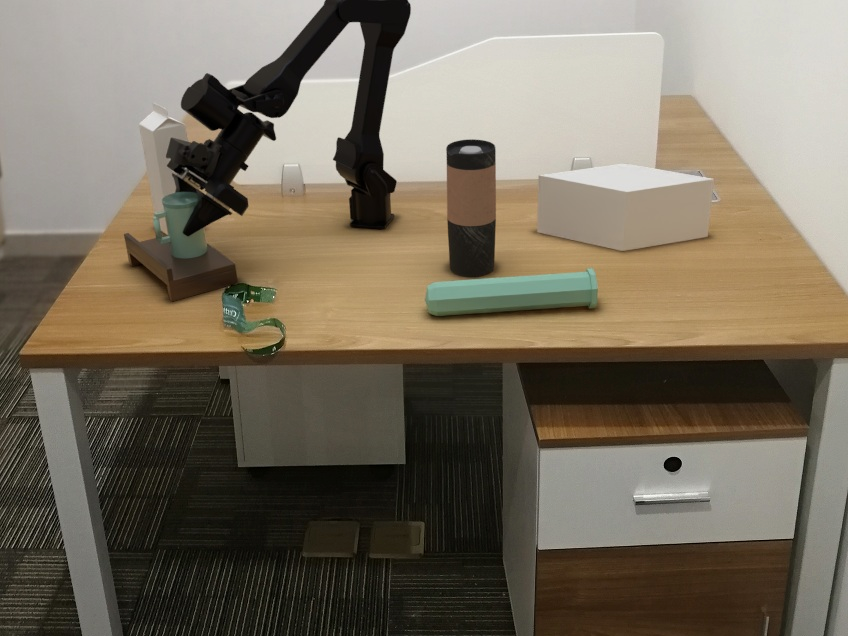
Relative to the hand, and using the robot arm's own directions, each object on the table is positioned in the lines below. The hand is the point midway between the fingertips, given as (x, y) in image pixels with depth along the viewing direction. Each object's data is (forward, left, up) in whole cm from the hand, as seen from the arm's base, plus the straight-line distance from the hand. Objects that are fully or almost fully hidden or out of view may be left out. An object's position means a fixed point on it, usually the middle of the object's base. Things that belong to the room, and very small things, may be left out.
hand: (177, 229), depth 161 cm
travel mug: (-45, -11, -8) cm, 47 cm away
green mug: (-1, -1, -4) cm, 4 cm away
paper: (-67, -30, -8) cm, 74 cm away
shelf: (0, 0, -8) cm, 8 cm away
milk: (+10, -17, -8) cm, 22 cm away
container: (-54, +2, -8) cm, 54 cm away
